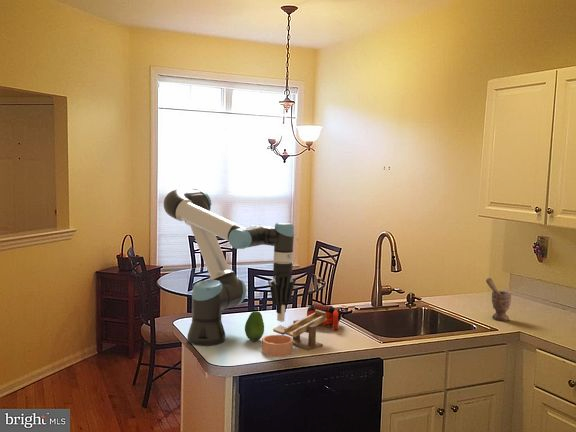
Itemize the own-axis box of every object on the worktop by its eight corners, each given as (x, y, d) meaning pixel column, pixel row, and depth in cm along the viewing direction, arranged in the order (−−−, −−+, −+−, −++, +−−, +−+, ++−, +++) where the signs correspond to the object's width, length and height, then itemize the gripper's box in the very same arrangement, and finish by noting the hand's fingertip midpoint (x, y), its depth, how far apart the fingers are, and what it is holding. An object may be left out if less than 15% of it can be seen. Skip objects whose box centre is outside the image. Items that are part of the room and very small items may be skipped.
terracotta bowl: (275, 358, 195) (275, 346, 195) (255, 350, 204) (256, 338, 203) (298, 352, 203) (299, 340, 202) (278, 344, 211) (279, 333, 211)
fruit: (268, 340, 216) (268, 311, 215) (254, 344, 210) (254, 314, 209) (254, 336, 221) (255, 307, 220) (240, 340, 215) (240, 311, 214)
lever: (294, 341, 204) (292, 330, 203) (273, 333, 213) (272, 323, 212) (328, 322, 216) (326, 312, 215) (307, 316, 225) (306, 306, 224)
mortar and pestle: (494, 322, 250) (496, 280, 249) (481, 317, 258) (483, 277, 257) (513, 320, 254) (516, 279, 253) (500, 316, 262) (502, 276, 261)
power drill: (310, 300, 247) (343, 303, 243) (310, 318, 248) (342, 322, 244) (303, 310, 232) (337, 314, 229) (303, 330, 234) (337, 333, 230)
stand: (307, 350, 205) (308, 328, 204) (285, 341, 214) (286, 321, 214) (322, 346, 210) (323, 325, 209) (300, 338, 220) (300, 318, 219)
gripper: (276, 265, 202) (274, 325, 204) (301, 262, 211) (299, 320, 213) (264, 262, 208) (262, 321, 210) (289, 259, 216) (286, 316, 219)
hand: (280, 320), depth 211 cm, fingers closed
